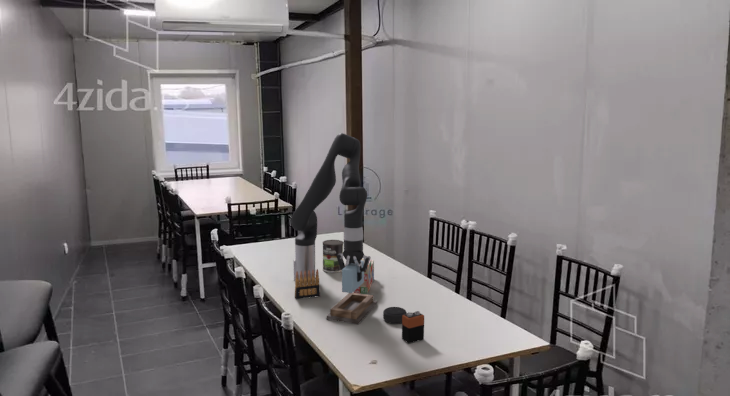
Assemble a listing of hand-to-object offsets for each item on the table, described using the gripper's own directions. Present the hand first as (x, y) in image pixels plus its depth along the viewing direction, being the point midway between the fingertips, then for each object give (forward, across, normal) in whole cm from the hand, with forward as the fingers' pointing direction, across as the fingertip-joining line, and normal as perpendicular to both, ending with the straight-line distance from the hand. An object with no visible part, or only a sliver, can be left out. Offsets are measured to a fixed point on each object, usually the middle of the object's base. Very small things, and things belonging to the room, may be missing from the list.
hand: (353, 280), depth 216 cm
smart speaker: (+13, +18, -2) cm, 22 cm away
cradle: (+13, 0, 0) cm, 13 cm away
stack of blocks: (+13, -7, +32) cm, 35 cm away
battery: (+13, +29, -17) cm, 36 cm away
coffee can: (+13, -29, +49) cm, 58 cm away
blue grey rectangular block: (+3, 0, 0) cm, 3 cm away
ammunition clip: (+13, -24, +9) cm, 29 cm away
